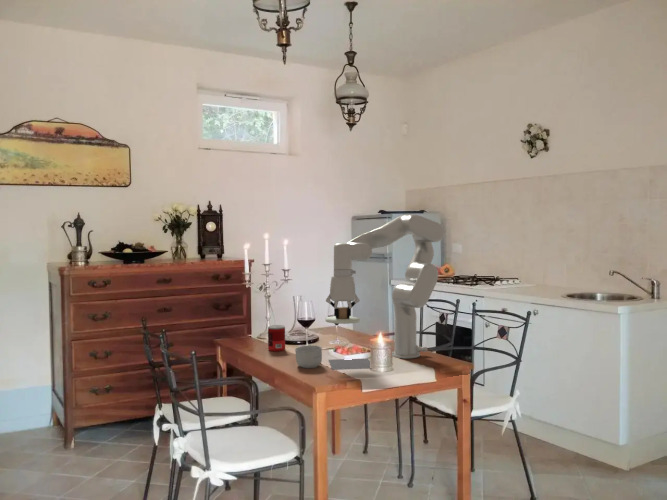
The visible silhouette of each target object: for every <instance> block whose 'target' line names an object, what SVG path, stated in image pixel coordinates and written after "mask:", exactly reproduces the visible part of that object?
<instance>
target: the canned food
mask: <svg viewBox="0 0 667 500" xmlns="http://www.w3.org/2000/svg"><path fill="white" fill-rule="evenodd" d="M267 345H268V348H267V349H268V351H269V352H273V353H274V352H278V353H279V352H283V351H285V349H286V326H285V325H282V324H272V325H268V326H267Z"/></svg>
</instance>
